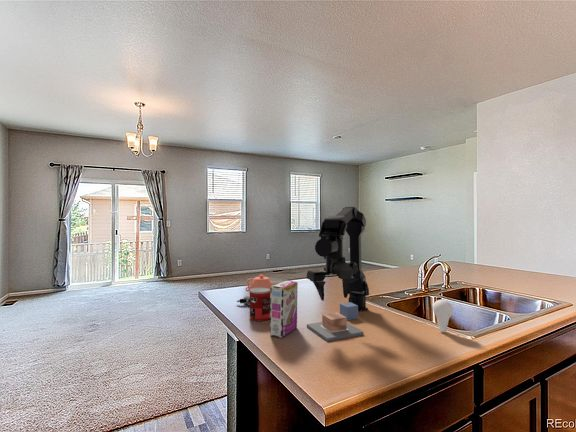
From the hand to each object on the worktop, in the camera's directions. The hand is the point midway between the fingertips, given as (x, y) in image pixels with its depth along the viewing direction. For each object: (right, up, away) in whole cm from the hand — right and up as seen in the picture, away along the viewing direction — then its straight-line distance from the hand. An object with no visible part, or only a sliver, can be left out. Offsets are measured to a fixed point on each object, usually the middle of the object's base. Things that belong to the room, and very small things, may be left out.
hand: (334, 299), depth 107 cm
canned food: (-27, -11, +13) cm, 32 cm away
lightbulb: (+37, -11, -1) cm, 38 cm away
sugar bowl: (-30, -11, +48) cm, 58 cm away
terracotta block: (0, -10, 0) cm, 10 cm away
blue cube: (+8, -11, +14) cm, 20 cm away
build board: (0, -11, 0) cm, 11 cm away
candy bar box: (-17, -11, -1) cm, 20 cm away
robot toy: (-30, -11, +31) cm, 44 cm away
